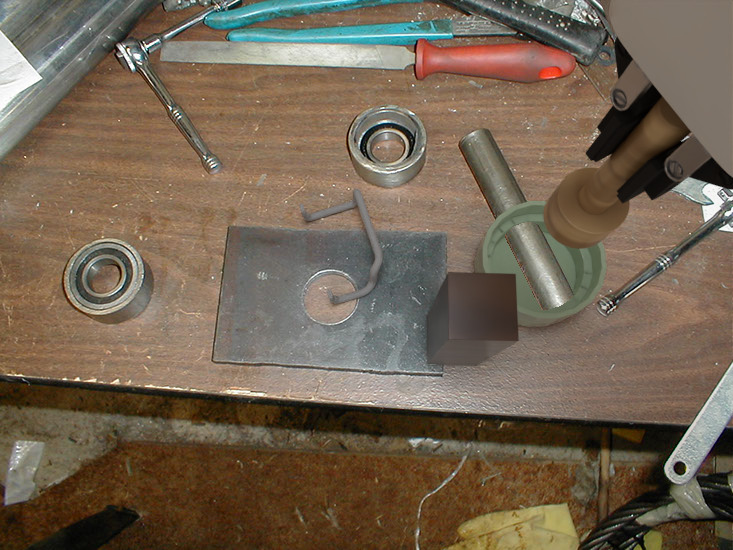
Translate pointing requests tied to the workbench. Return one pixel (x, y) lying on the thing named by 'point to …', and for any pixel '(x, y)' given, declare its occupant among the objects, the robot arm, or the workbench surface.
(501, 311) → the brown block
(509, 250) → the bowl
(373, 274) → the bracket
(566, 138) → the workbench surface
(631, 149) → the muddler
